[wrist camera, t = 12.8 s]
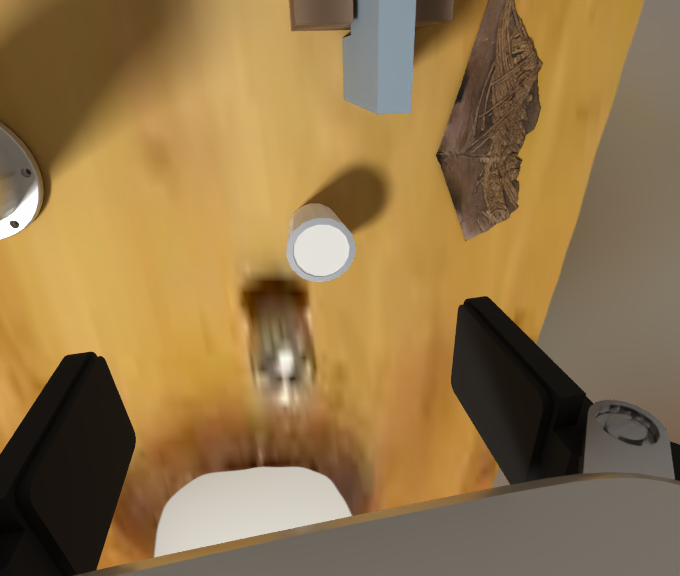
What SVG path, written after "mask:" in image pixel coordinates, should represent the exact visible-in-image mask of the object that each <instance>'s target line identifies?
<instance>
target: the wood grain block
mask: <svg viewBox="0 0 680 576" xmlns="http://www.w3.org/2000/svg"><path fill="white" fill-rule="evenodd" d="M289 6H290V20H291V31H320V30H351V23H353V0H289ZM453 10H454V0H416V15H415V28H423V27H427V26H431V25H435V24H439V23H444V22H448V21H452V20H453Z"/></svg>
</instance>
